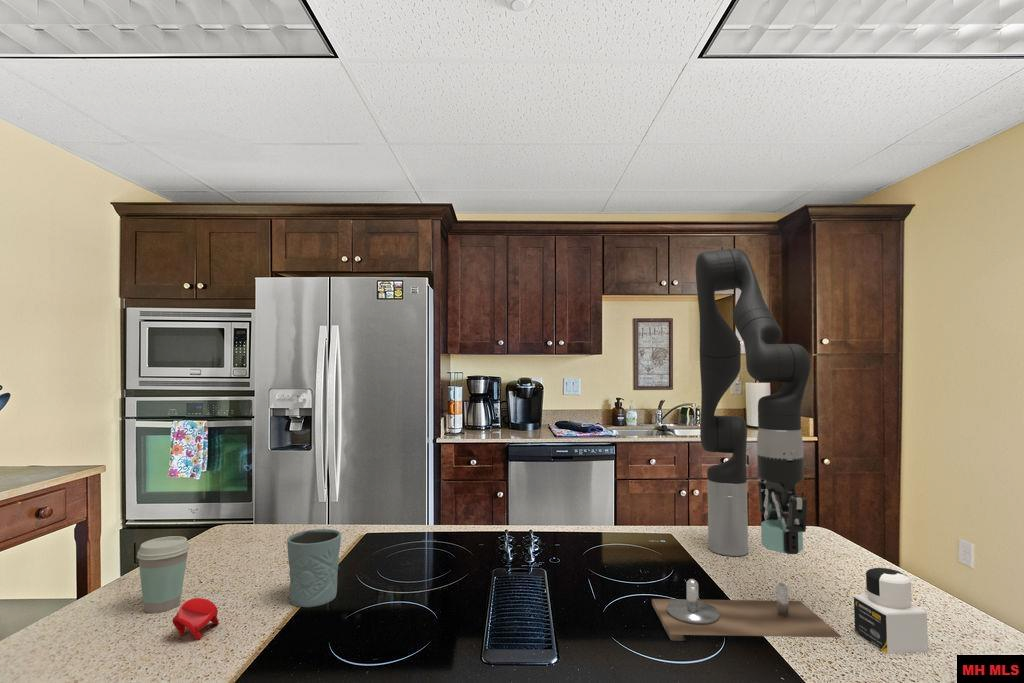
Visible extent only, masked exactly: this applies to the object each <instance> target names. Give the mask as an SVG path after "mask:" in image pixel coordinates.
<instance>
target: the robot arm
mask: <svg viewBox="0 0 1024 683" xmlns="http://www.w3.org/2000/svg"><path fill="white" fill-rule="evenodd" d="M758 282H759V281H758V279H757V277H756V274H755V270H754V269H753V265H752V263H751V260H750V258H749V257H748V254H747V253H746V252H745V251H744V250H743V249H741V248H737V247H736V248H733V247H732V248H725V249H716V250H709V251H703V252H700V253H699V254H697V258H696V262H695V283H696V294H697V303H698V314H699V372H700V373H699V374H700V385H701V388H700V389H701V396H700V397H701V398H700V400H701V402H700V404H701V405H700V423H699V424H700V429H699V430H700V432H699V434H700V435H699V436H700V444H701V447H702V449H703V450H704V451H705V452H709V453H719V454H721V453H723V454H732V456H731V457H730V458H729V459H728V460H726V461H724V462H720V463H719V464H715V465H712V466H709V467H708V468H707V471H706V478H707V481H706V482H707V483H706V484H707V539H708V540H707V541H708V549H709V550H710V551H711V552H713V553H715V554H718V555H722V556H723V555H724V556H731V557H732V556H733V557H741V556H745V555H747V554H749V532H748V531H749V527H748V524H749V522H748V521H749V520H748V515H749V514H748V484H747V483H748V480H747V479H748V477H747V444H748V441H747V440H748V431H747V430H748V429H747V423H746V422H747V421H746V420H745V418H743V416H739V415H715V413H716V410H717V407H718V405H719V403H720V401H721V399H722V397H723V396H724V395H725V393H726V392H728V390H729V388H730V387H731V386H732V385H733V383H734V382H735V380H736V379H737V378H738V376H739V374H740V372H741V366H742V364H741V363H742V361H741V360H742V359H741V358H742V353H741V352H742V351H741V350H742V349H741V348H742V347H741V342H740V339H739V337H738V336H737V334H736V333H735V331H734V330H733V329H732V328H731V326H730V325H729V324H728V322H727V321H726V320H725V318H724V317H723V315H722V314H721V312H720V310H719V309H718V306H717V302H716V297H715V292H723V291H729V290H735V289H739V290H740V295H739V297H738V300H737V301H736V304H735V306H734V308H733V314H732V318H733V319H732V320H733V323H734V326H735V328H736V330H737V332H738V334H739V336H740V337H741V339H742V340H741V341H743V346H744V351H745V365H746V371H747V373H748V374H749V376H750V377H751V378H752V379H754V380H755V381H756V382H760V383H782V384H781V387H780V388H779V391H777V392H776V393H772V394H769V395H765V396H761V397H760V398H759V399H758V401H757V402H758V403H757V435H756V436H757V437H756V453H757V458H756V459H757V476H758V478H759V479H760V480H762V481H758V484H757V487H758V500H759V502H758V503H759V511H760V514H763V517H764V520H781V521H782V525H783V529H784V552H785V553H784V554H786V555H797V554H799V553H798V532H803V533H805V532H806V531H807V530H806V529H807V512H808V510H807V509H808V508H807V507H808V500H807V499H806V497H800V496H798V492H797V487H796V486H797V484H798V483H800V484H801V483H802V482H804V480H805V475H804V473H805V471H804V464H805V463H804V440H803V435H802V419H801V418H802V415H801V414H802V413H801V406H802V403H803V398H804V396H805V395H804V394H805V391H806V390H805V389H806V386H807V383H808V379H809V376H810V371H811V368H812V367H811V366H812V364H811V363H812V362H811V358H810V355H809V353H808V351H807V349H806V348H805V347H803V345H800V344H798V343H780V342H781V340H782V337H783V332H782V329H781V327H780V326H779V324H778V322H777V321H776V318H775V317H774V315H773V314H772V312H771V310H770V309H769V308H768V306H767V304H766V301H765V300H764V296H763V293H762V291H761V287H760V284H759V283H758ZM787 521H788V522H787Z"/></svg>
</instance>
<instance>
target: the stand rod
mask: <svg viewBox="0 0 1024 683" xmlns="http://www.w3.org/2000/svg"><path fill="white" fill-rule="evenodd" d="M776 601H777V614H778V615H779V616H782V617H788V616H789V614H788V601H789V588H788V586H787V584H785V583H783V582H780V583H778V584H777V585H776Z"/></svg>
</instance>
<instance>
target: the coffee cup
mask: <svg viewBox="0 0 1024 683" xmlns="http://www.w3.org/2000/svg"><path fill="white" fill-rule="evenodd" d="M190 550H191V547H190V543H189V542H188V538H186V537H185V536H181V535H180V536H176V535H175V536H173V535H172V536H171V535H170V536H163V537H162V536H161V537H158V538H152V539H150V540H146V541H144V542H142V543H141V544H140V546H139V549H138V551H137V555H136V558H137V559H138V566H139V568H138V569H139V576H140V578H139V579H140V588H141V598H142V607H143V608H142V609H143V612H145V613H147V614H148V613H149V614H158V613H163V612H167V611H170V610H173V609H175V608H177V607H178V606H179V605H180V603H181V598H182V593H183V592H182V591H183V586H184V580H185V572H186V566H187V559H188V552H189V551H190Z"/></svg>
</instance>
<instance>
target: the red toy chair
mask: <svg viewBox="0 0 1024 683" xmlns="http://www.w3.org/2000/svg"><path fill="white" fill-rule="evenodd" d="M218 612H219V610H218V608H217V606H216V604H215V603H214V602H213V601H211V600H209V599H207V598H202V597H198V598H197V597H196V598H195V597H194V598H190V599H188V600H186V601H185V602H183V603H182V604H181V606H180V607H179V608H178V610H177V613H176V615H175V616H174V617H173V618H172V620H171V621H172V624H173V626H174V627H175V628H176V631H177V632H178V634H179V635H180V636H184V634H185V632H186V629H188V630H189V632H190V633H191V634H192V635H193V636H194V637H195V639H196V640H198V641H200V640H201V639H202V638H203V635H202V633H201V632H200V630H201V629H202V628H204V627H205V626H207V625H208V624H209V623H212V624H214V625H216V626H217V625H219V623H220V621H219V618H218V617H217V616H218V614H219V613H218Z"/></svg>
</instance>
